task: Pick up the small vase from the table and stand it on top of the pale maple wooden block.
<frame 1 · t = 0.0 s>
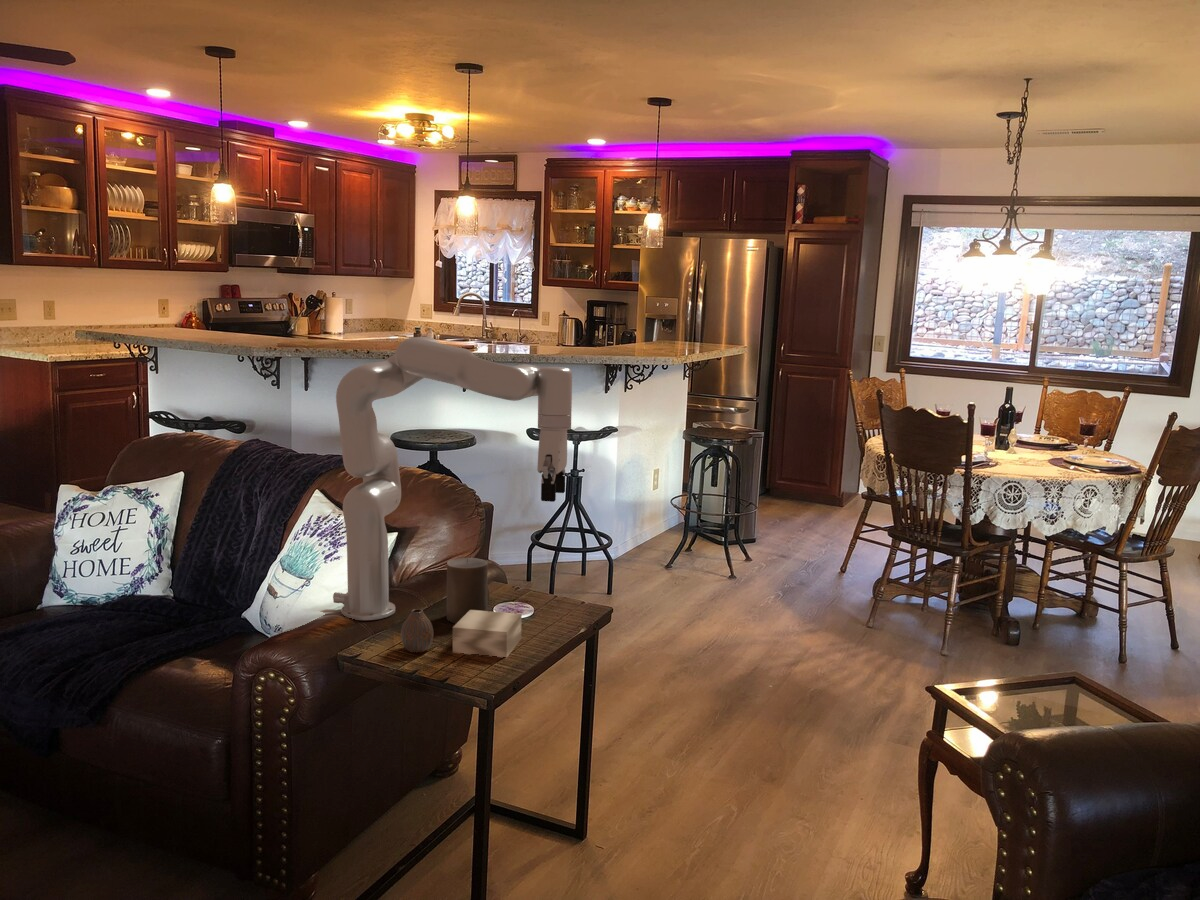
hand: (553, 496, 217), 31 cm above the table, tool pointing down, fingers open, 9 cm apart
maple block: (487, 646, 210), on the table
vase: (417, 650, 206), on the table
pillar candle: (466, 619, 227), on the table
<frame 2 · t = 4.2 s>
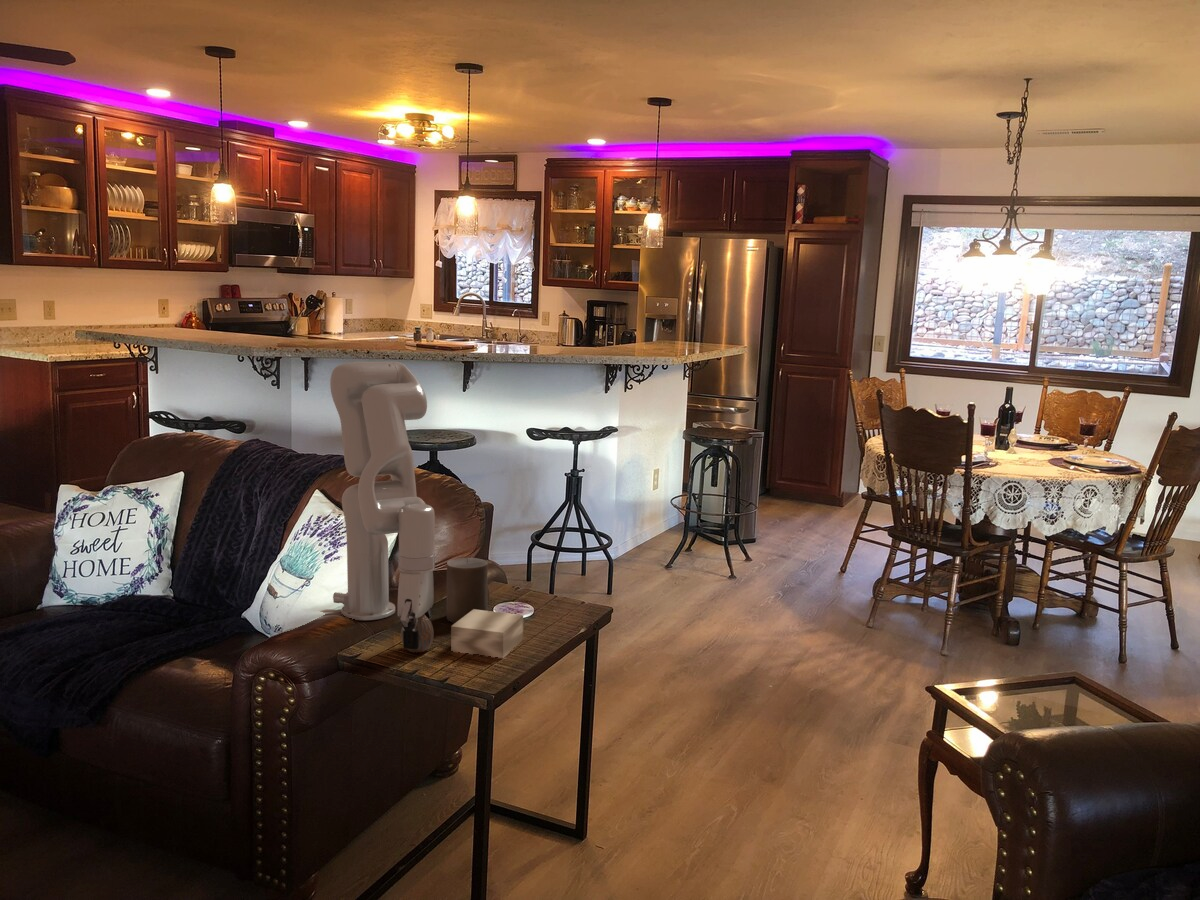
hand: (417, 641, 206), 2 cm above the table, tool pointing down, fingers closed on vase, 6 cm apart
vase: (417, 650, 206), on the table, touching gripper
everything else where it was.
when the fingers open (9 cm above the table, at t = 9.4 s): vase drops 1 cm, point 5 cm above the table.
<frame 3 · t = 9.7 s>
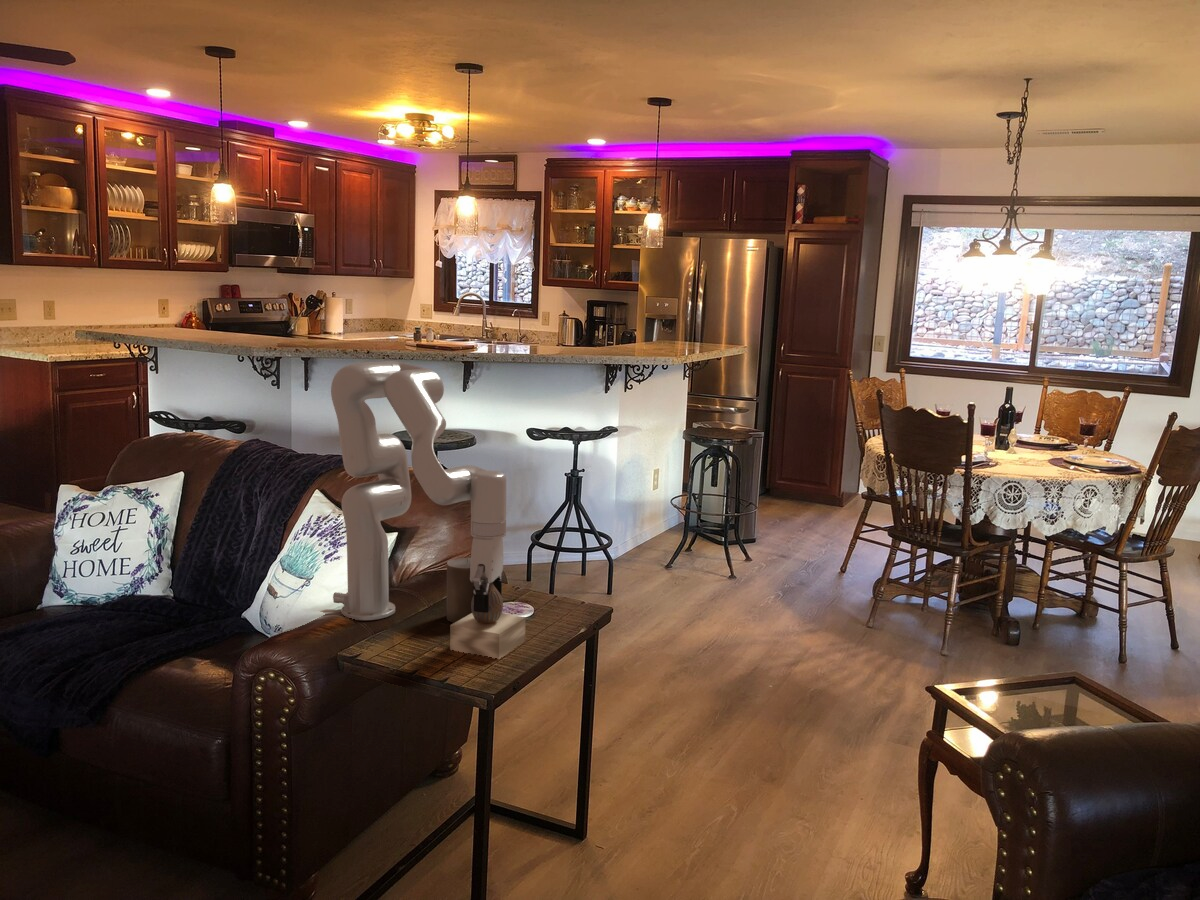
hand: (488, 604, 208), 9 cm above the table, tool pointing down, fingers open, 9 cm apart
vase: (486, 622, 209), point 5 cm above the table
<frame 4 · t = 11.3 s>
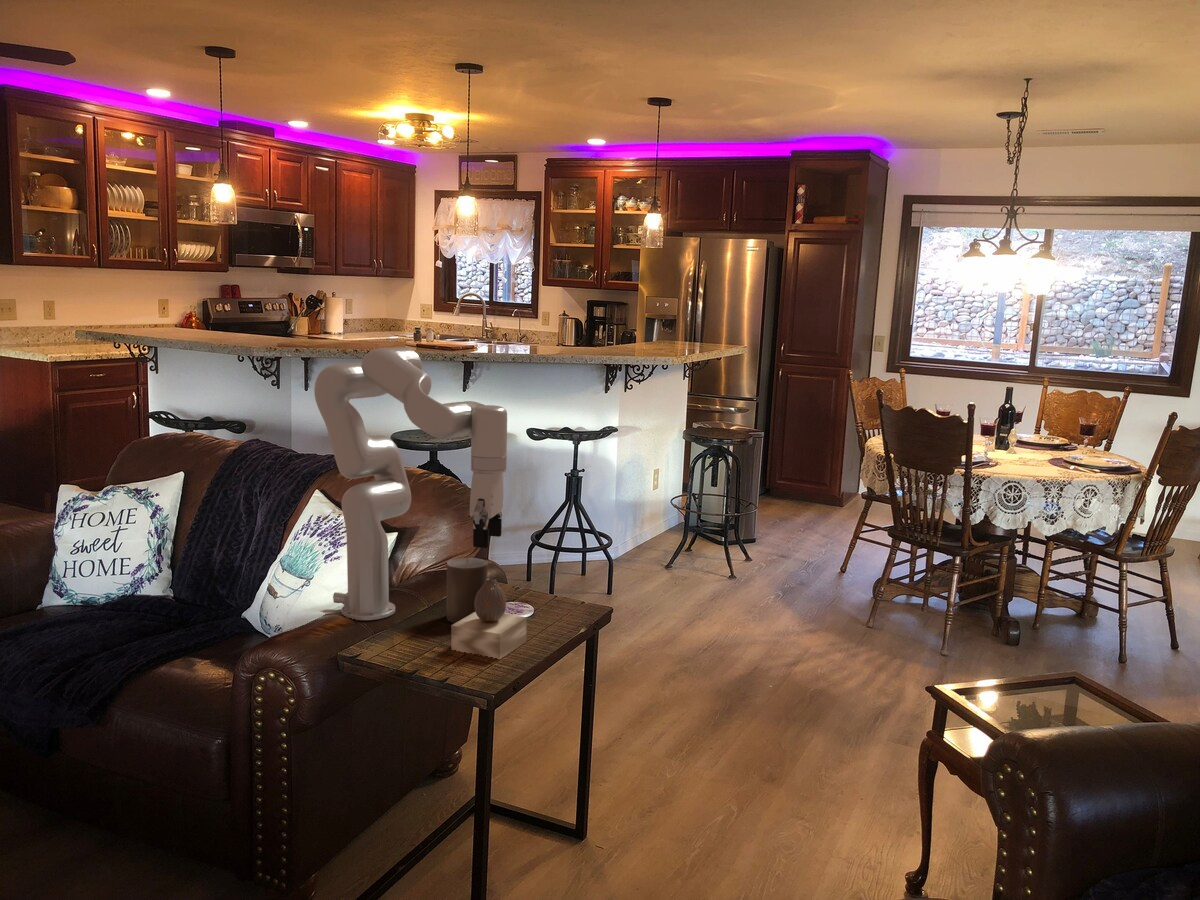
hand: (487, 541, 206), 23 cm above the table, tool pointing down, fingers open, 9 cm apart
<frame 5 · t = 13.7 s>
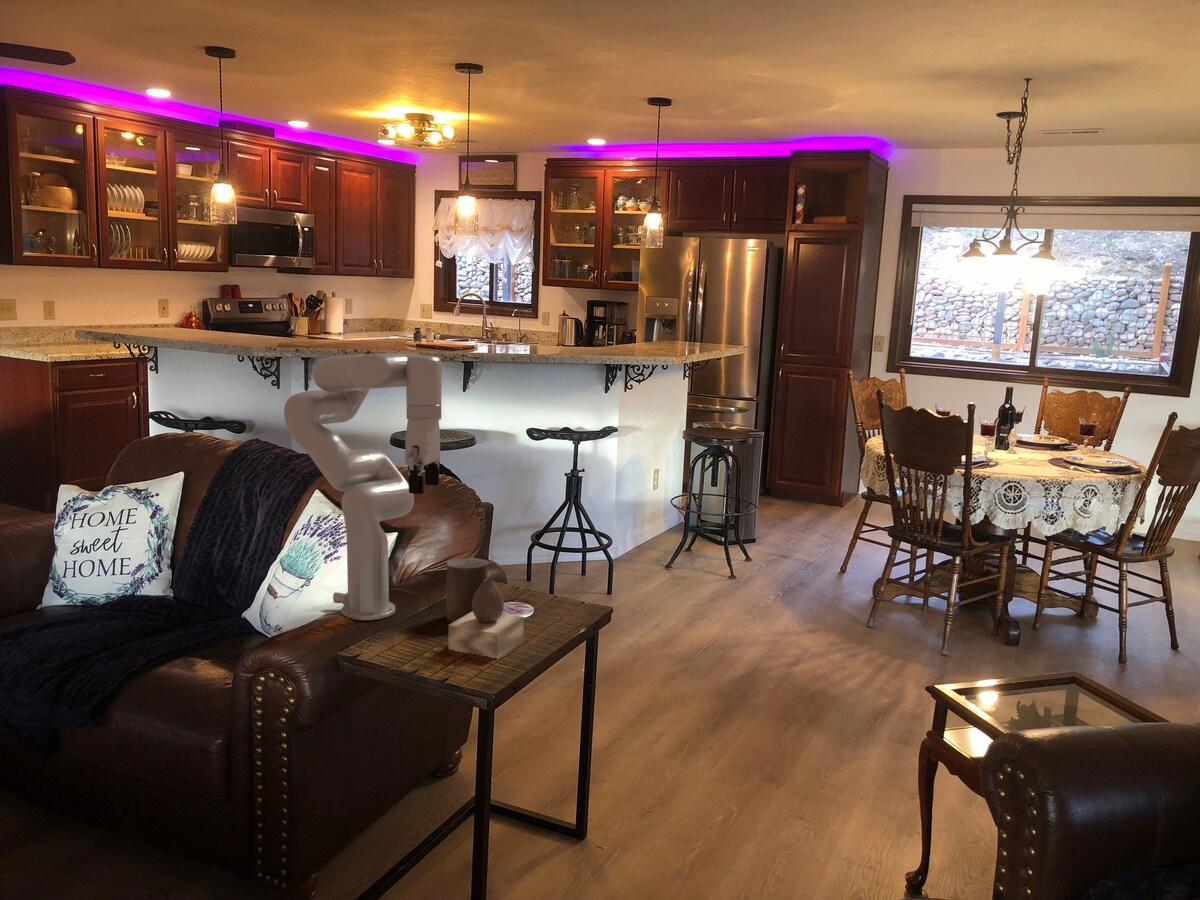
hand: (424, 489, 211), 33 cm above the table, tool pointing down, fingers open, 9 cm apart
maple block: (486, 646, 210), on the table, touching vase
vase: (487, 621, 209), point 6 cm above the table, touching maple block
everything else where it was.
at the end: vase inside the target area on the maple block (0.6 cm from its centre), point 6.2 cm above the maple block's base; vase tilted 7°; the gripper is holding nothing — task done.
